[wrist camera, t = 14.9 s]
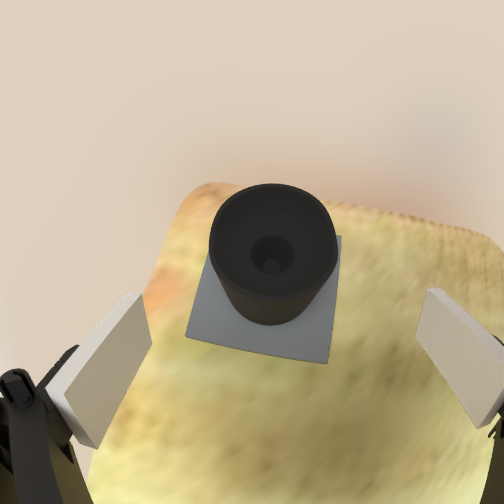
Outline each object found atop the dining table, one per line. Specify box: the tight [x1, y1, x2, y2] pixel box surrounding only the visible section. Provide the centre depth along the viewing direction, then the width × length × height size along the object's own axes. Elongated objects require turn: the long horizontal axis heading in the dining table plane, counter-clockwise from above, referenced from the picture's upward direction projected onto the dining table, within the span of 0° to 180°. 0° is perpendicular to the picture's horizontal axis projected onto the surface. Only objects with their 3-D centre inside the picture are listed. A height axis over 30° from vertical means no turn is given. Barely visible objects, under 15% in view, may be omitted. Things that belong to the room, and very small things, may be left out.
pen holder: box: [209, 183, 338, 326], centre depth 24 cm, size 9×9×10 cm
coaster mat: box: [185, 235, 341, 364], centre depth 29 cm, size 14×14×1 cm
